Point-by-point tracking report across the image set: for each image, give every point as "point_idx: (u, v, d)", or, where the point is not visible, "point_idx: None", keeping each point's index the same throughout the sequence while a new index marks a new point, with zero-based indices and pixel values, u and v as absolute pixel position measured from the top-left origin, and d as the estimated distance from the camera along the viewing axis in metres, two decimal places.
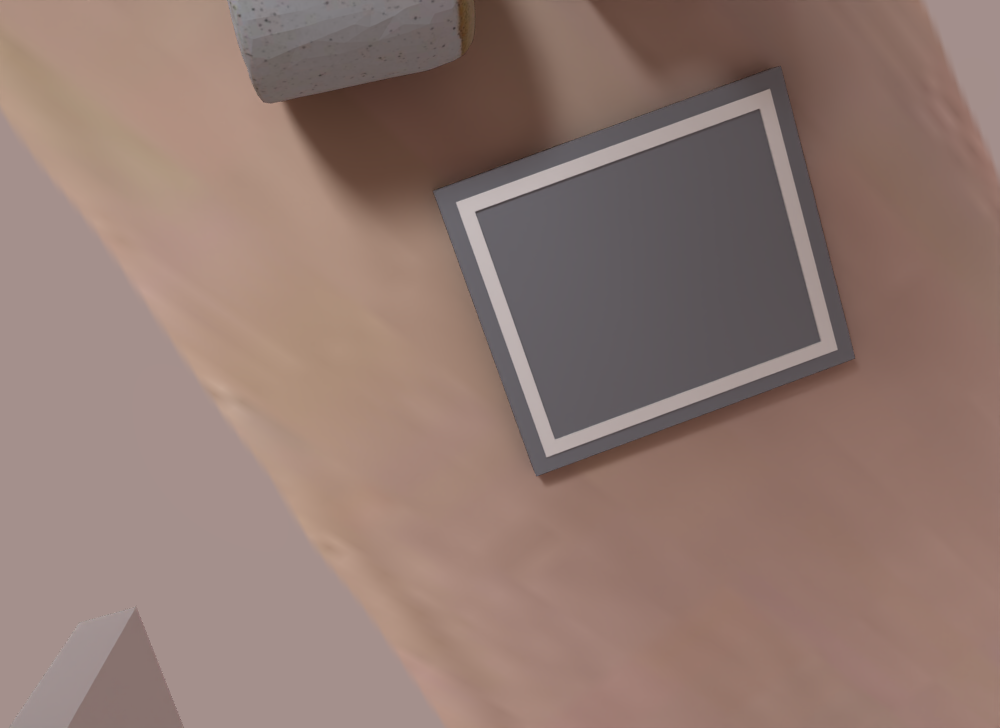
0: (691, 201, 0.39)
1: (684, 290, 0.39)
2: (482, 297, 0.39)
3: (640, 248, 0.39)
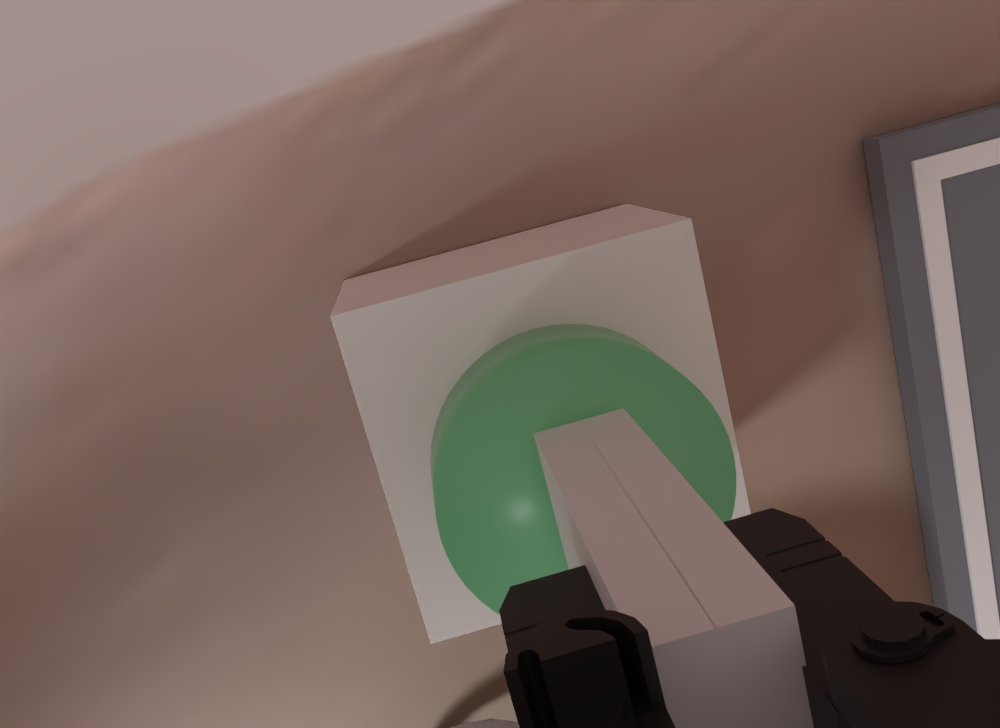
0: None
1: None
2: None
3: None
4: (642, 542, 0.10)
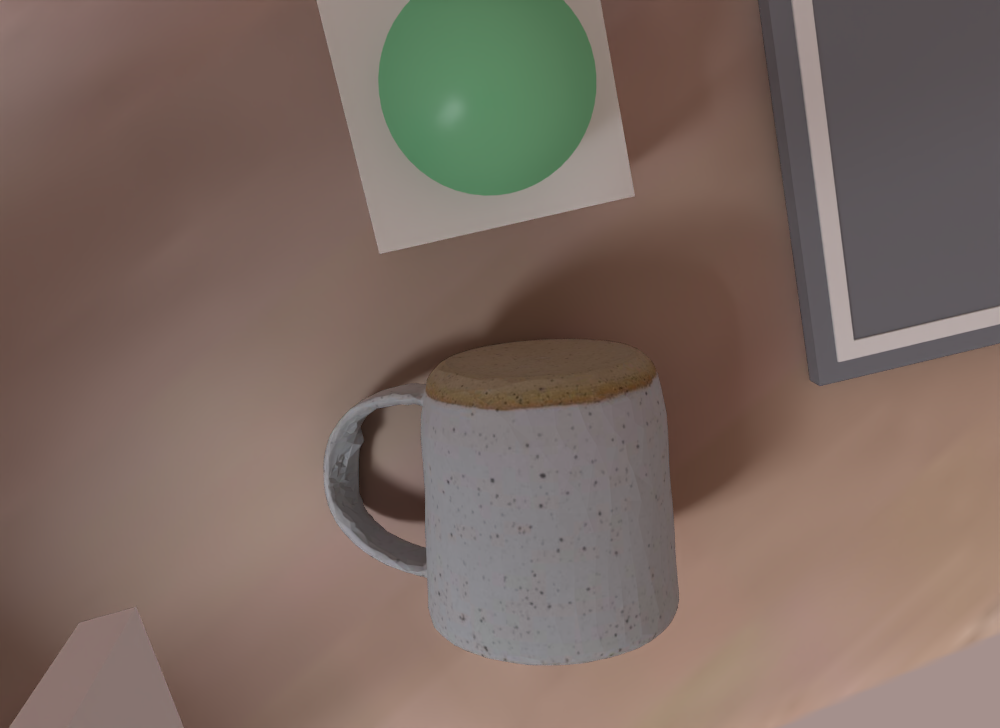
0: (902, 56, 0.29)
1: None
2: (953, 342, 0.31)
3: (943, 133, 0.30)
4: None
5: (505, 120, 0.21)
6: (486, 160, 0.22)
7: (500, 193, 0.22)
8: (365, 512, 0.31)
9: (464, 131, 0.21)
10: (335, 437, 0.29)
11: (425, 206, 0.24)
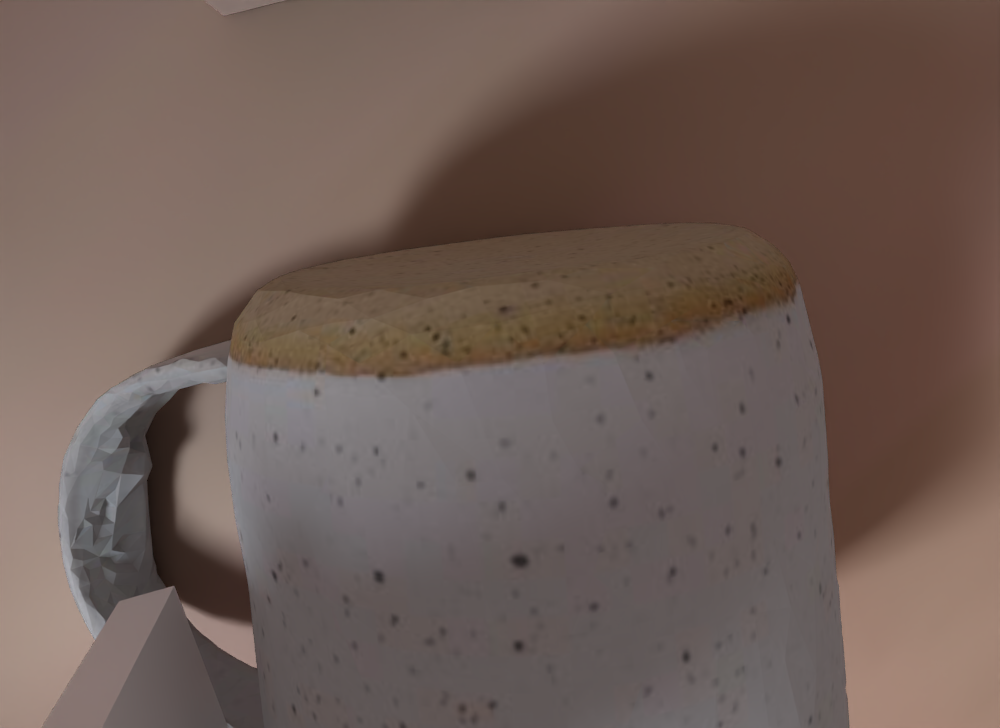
0: None
1: None
2: None
3: None
4: None
5: None
6: None
7: None
8: None
9: None
10: (73, 462, 0.13)
11: None
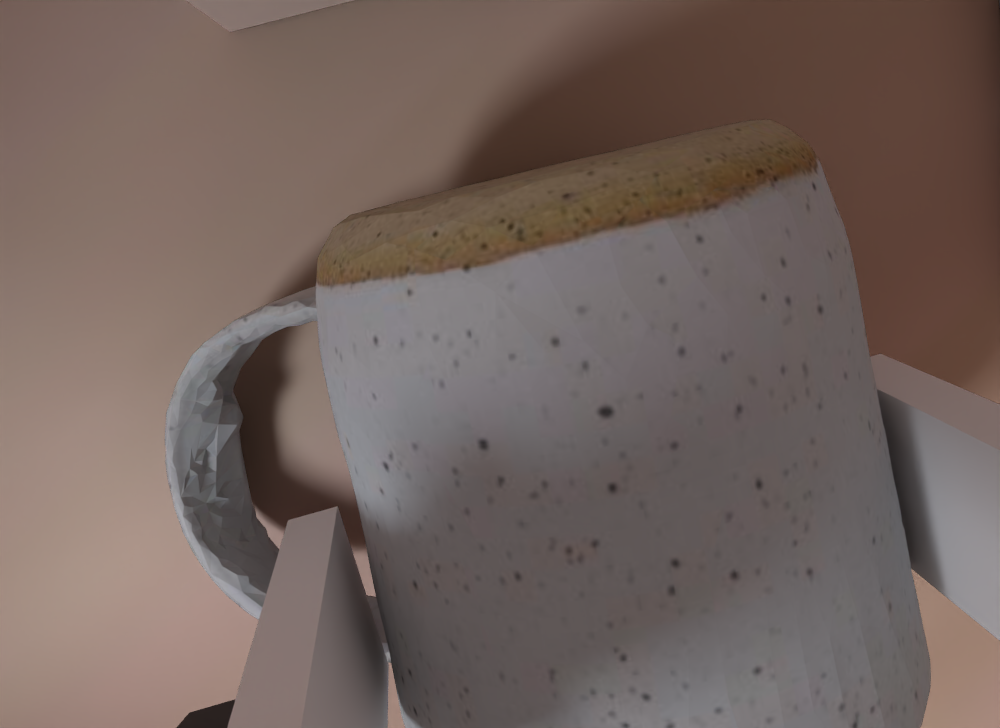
0: None
1: None
2: None
3: None
4: (292, 681, 0.09)
5: None
6: None
7: None
8: (273, 550, 0.16)
9: None
10: (176, 416, 0.15)
11: None
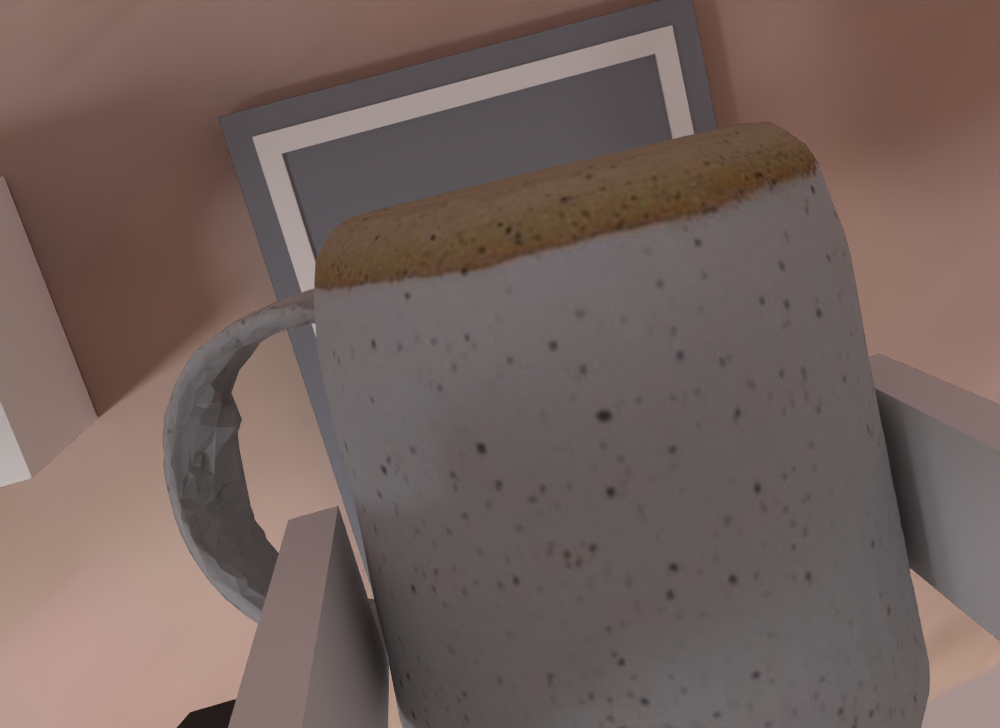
0: None
1: None
2: None
3: None
4: (293, 680, 0.09)
5: None
6: None
7: None
8: (271, 553, 0.16)
9: None
10: (174, 419, 0.15)
11: None
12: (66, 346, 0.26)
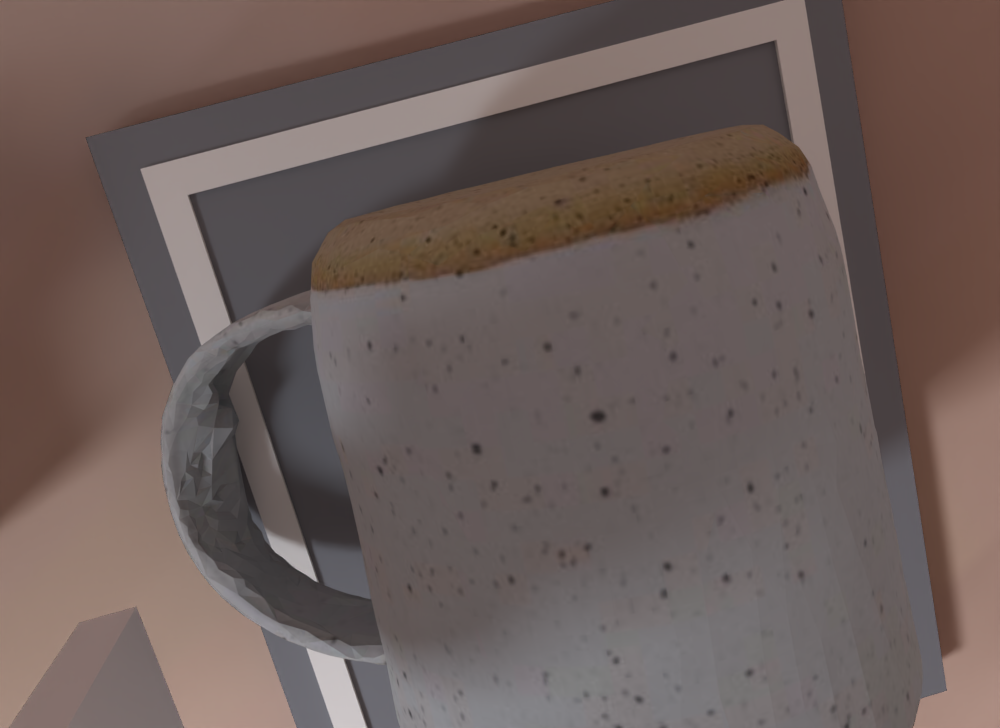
0: None
1: None
2: None
3: None
4: None
5: None
6: None
7: None
8: (269, 553, 0.17)
9: None
10: (171, 420, 0.15)
11: None
12: None
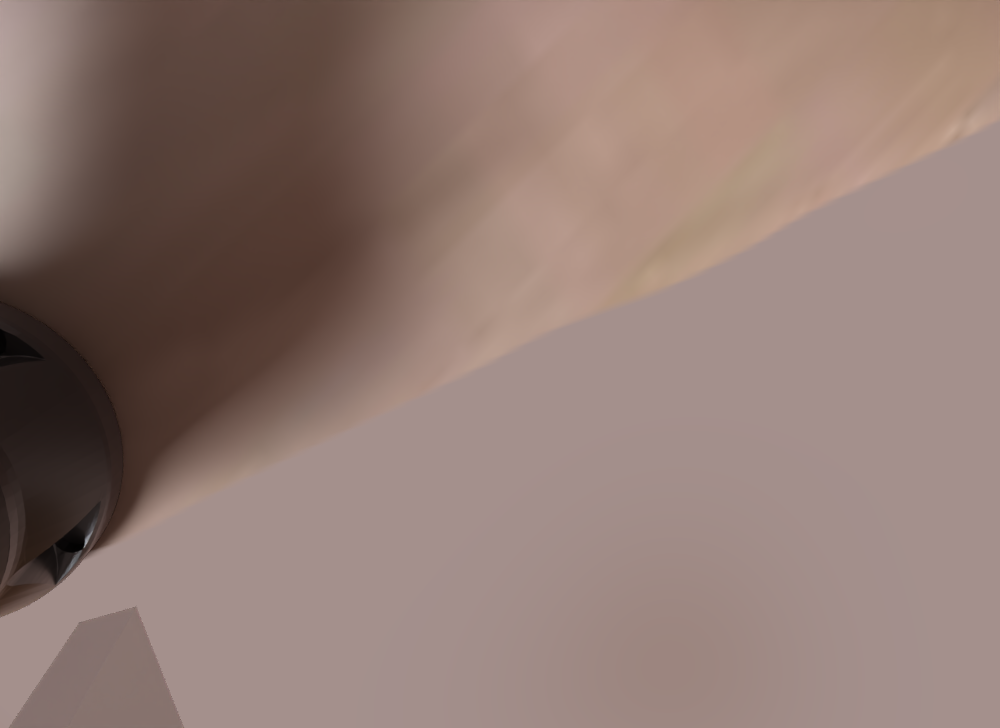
0: None
1: None
2: None
3: None
4: None
5: None
6: None
7: None
8: None
9: None
10: None
11: None
12: None
